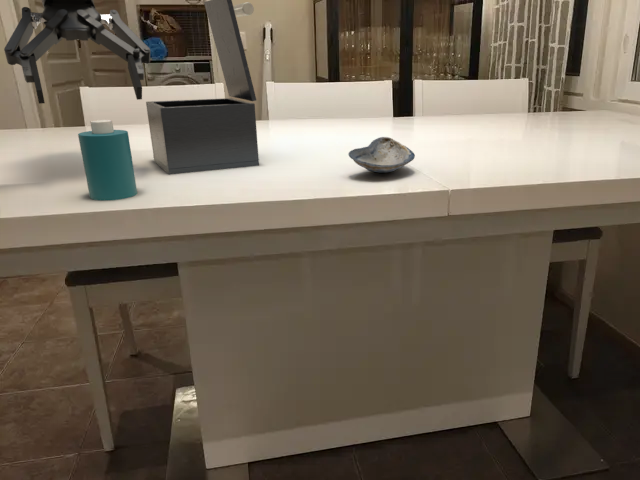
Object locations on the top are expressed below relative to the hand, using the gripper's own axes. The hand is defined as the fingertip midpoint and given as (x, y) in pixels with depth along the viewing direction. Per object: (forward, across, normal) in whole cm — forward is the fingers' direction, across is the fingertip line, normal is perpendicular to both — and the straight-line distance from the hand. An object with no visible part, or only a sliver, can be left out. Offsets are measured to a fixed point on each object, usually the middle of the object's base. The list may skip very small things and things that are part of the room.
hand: (91, 95), depth 84 cm
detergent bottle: (+16, 0, -3) cm, 16 cm away
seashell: (+20, -42, 0) cm, 46 cm away
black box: (+3, -18, -16) cm, 24 cm away
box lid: (-11, -24, -2) cm, 26 cm away
